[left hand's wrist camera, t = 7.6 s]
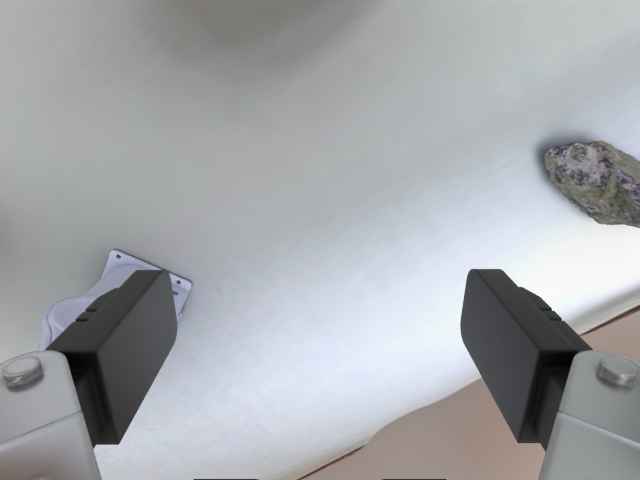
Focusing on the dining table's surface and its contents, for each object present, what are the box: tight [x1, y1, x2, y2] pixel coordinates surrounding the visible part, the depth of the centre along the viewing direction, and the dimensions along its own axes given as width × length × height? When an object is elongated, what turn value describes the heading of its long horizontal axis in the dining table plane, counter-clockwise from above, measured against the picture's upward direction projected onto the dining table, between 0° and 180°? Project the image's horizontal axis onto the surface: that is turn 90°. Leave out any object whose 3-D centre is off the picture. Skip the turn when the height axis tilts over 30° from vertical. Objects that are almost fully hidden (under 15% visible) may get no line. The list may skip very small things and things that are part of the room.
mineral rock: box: [544, 141, 640, 228], centre depth 38 cm, size 13×11×10 cm
